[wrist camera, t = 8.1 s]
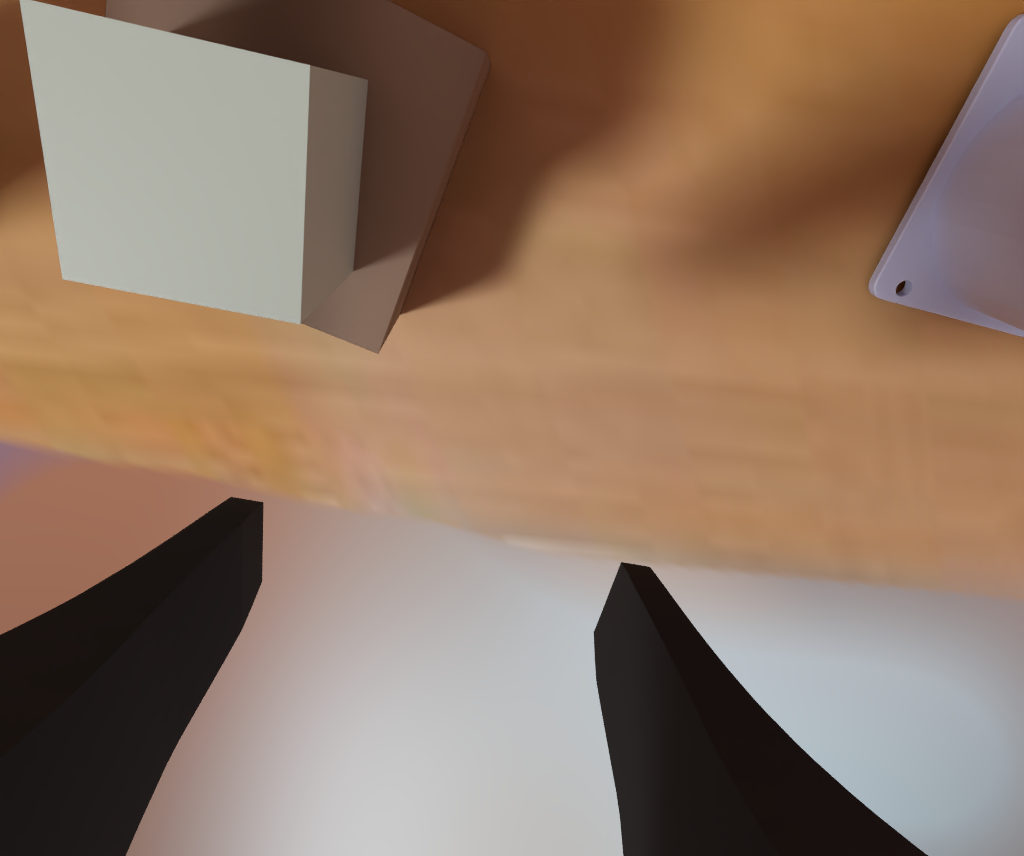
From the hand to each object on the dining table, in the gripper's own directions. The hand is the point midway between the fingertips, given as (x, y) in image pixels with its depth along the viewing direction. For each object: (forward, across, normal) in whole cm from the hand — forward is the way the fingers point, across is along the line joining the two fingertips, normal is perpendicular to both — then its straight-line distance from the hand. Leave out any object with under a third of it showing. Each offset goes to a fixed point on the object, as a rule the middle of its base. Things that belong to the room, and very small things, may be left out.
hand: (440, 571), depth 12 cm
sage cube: (+7, +6, -6) cm, 11 cm away
